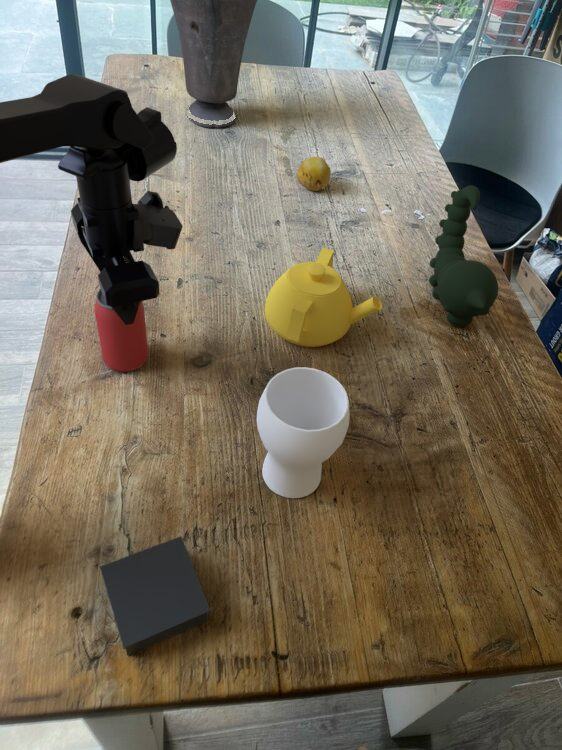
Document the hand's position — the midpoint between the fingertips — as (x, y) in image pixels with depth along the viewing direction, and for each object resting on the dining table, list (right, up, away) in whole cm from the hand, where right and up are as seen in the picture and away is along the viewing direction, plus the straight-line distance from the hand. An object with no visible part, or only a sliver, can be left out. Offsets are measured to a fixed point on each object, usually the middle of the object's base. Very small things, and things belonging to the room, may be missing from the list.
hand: (119, 301), depth 78 cm
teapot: (+28, -2, +18) cm, 33 cm away
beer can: (-2, -7, +9) cm, 12 cm away
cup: (+23, -23, -2) cm, 32 cm away
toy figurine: (+52, +4, +26) cm, 58 cm away
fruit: (+28, +31, +49) cm, 64 cm away
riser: (+8, -34, -15) cm, 38 cm away
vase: (+4, +55, +68) cm, 87 cm away
